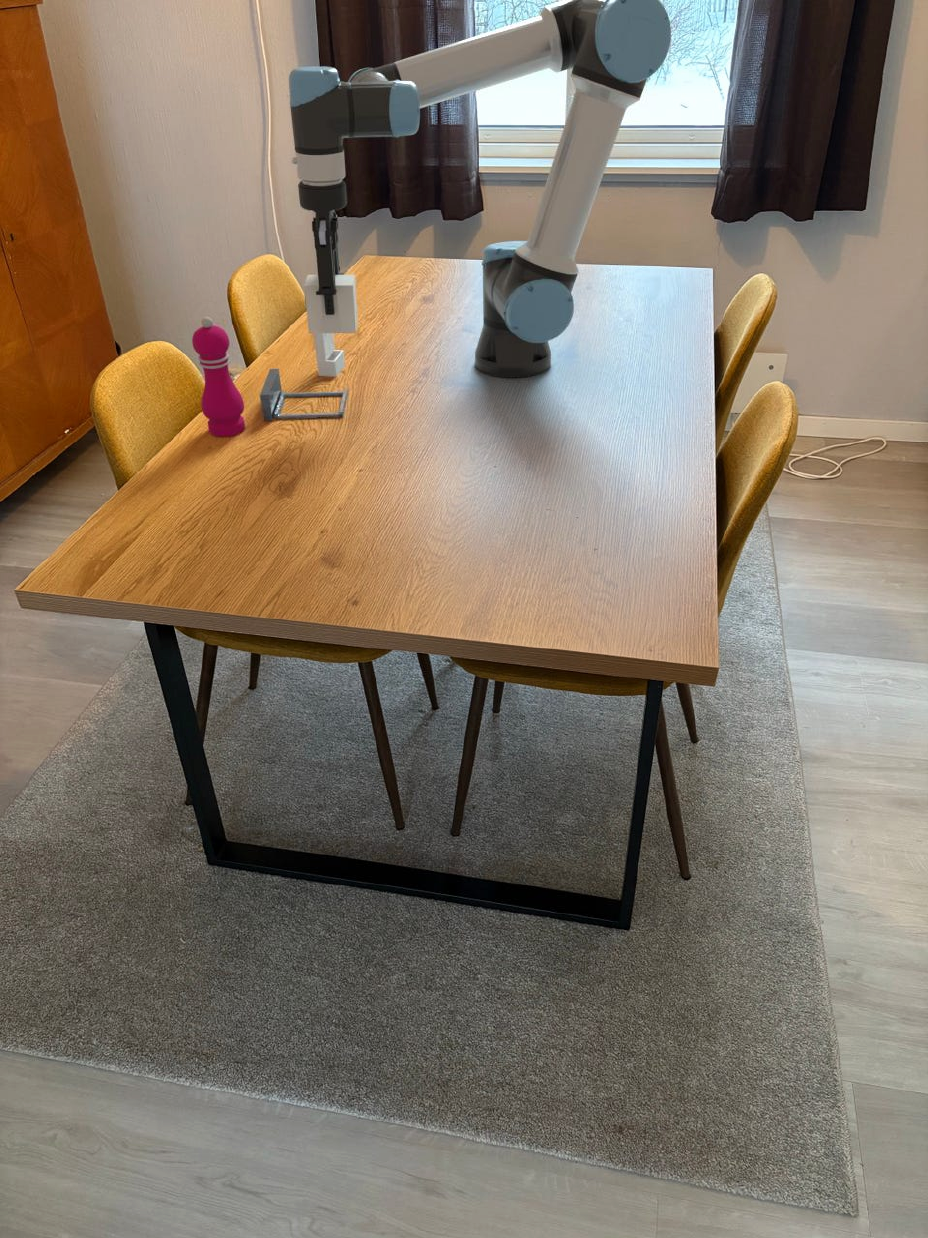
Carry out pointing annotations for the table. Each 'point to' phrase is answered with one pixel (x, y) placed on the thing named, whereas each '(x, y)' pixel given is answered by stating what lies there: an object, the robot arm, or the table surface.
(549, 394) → the table surface
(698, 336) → the table surface
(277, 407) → the rail plate
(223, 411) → the pepper mill
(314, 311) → the block
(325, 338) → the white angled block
